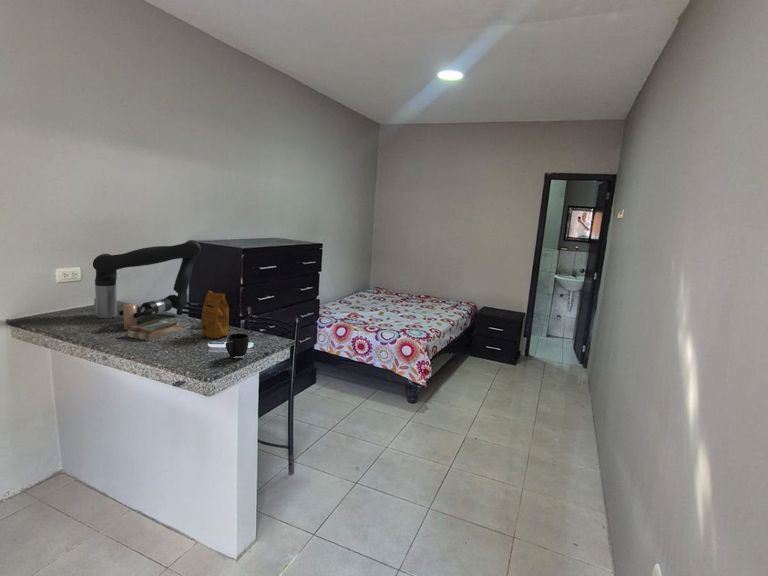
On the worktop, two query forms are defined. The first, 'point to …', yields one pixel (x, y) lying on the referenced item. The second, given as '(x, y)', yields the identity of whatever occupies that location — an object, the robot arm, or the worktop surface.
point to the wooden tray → (152, 329)
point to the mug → (237, 344)
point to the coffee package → (215, 316)
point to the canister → (129, 315)
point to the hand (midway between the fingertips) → (126, 314)
